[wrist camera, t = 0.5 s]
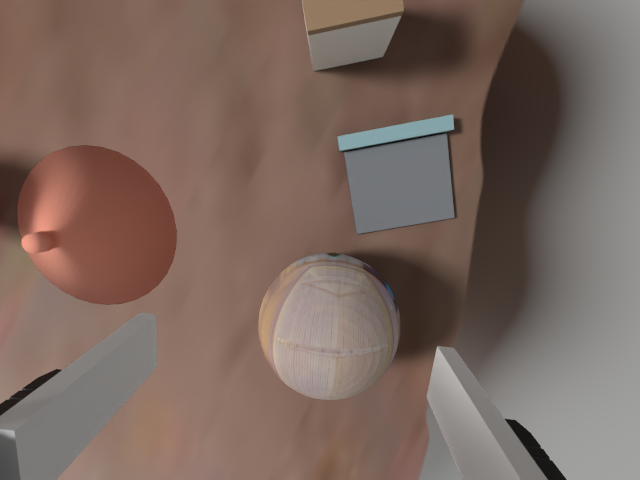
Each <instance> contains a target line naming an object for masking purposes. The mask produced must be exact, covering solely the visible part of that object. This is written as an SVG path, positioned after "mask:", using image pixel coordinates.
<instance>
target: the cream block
mask: <svg viewBox="0 0 640 480" xmlns="http://www.w3.org/2000/svg"><path fill="white" fill-rule="evenodd" d="M302 5H303V11H304V17H305V24H306V30H307V36H308V42H309V48H310V54H311V59H312V65H313V71H317V70H322V69H327V68H332V67H337V66H342V65H346V64H351V63H356V62H361V61H366V60H371V59H376V58H381V57H383V56H384V54H385V52H386V50H387V47H388V45H389V43H390V41H391V38H392V36H393V34H394V32H395V30H396V27H397V25H398V23H399V21H400V18H401V16H402V14H403V12H404V7H403V0H302Z"/></svg>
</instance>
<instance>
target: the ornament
mask: <svg viewBox="0 0 640 480" xmlns="http://www.w3.org/2000/svg"><path fill="white" fill-rule="evenodd" d="M259 337H260V342H261V346H262V350H263V353H264V355H265V357H266V359H267V361H268V363H269V365H270V366H271V368H272V369H273V371H274V372H275V373H276V375H277V376H278V377H279V378H280V379H281V380H282V381H283V382H284V383H286V384H287V385H288V386H290V387H291V388H292V389H294V390H296V391H297V392H299V393H301V394H304V395H306V396H309V397H313V398H317V399H324V400H335V399H343V398H348V397H351V396H354V395H356V394H358V393H361V392H363V391H364V390H366V389H367V388H369V387H370V386H372V385H373V384H374V383H375V382H377V381H378V380H379V379H380V378H381V377H382V376H383V374H384V373H385V372H386V370H387V369H388V367H389V366H390V364H391V362H392V360H393V358H394V356H395V353H396V351H397V347H398V343H399V338H400V315H399V310H398V306H397V303H396V301H395V298H394V295H393V293H392V291H391V289H390V287H389V286H388V285H387V283H386V282H385V281H384V279H383V278H382V277H381V276H380V275H379V274H378V273H377V272H376V271H375V270H374V269H373V268H372V267H370V266H369V265H367V264H366V263H364V262H362V261H360V260H358V259H356V258H354V257H351V256H348V255H344V254H338V253H319V254H314V255H310V256H307V257H304V258H302V259H300V260H298V261H296V262H294V263H292V264H291V265H289V266H288V267H286V268H285V269H284V270H283V271H282V272H281V273H280V274H279V275H278V276H277V277H276V278H275V280H274V281H273V282H272V283H271V285H270V287H269V288H268V290H267V292H266V294H265V297H264V299H263V302H262V305H261V309H260V314H259Z"/></svg>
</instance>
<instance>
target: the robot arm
mask: <svg viewBox="0 0 640 480" xmlns="http://www.w3.org/2000/svg"><path fill="white" fill-rule="evenodd" d="M156 367H157V347H156V314H147V313H139V314H137V315H136V316H135V317H133V318H132V319H131V320H129V321H128V322H127V323H125V324H124V325H123V326H121V327H120V328H119V329H117V330H116V331H114V332H113V333H112V334H110V335H109V336H108V337H106V338H105V339H104V340H102V341H101V342H100V343H98V344H97V345H96V346H94V347H93V348H91V349H90V350H89V351H87V352H86V353H85V354H83V355H82V356H81V357H79V358H78V359H77V360H75V361H74V362H73V363H71V364H70V365H68V366H67V367H66V368H64V369H63V370H59V369H56V370H54V371H52V372H49V373H47V374H45V375H43V376H41V377H38V378H37V379H35V380H34V381H33V382H31V383H30V384H28V385H27V386H25V387H24V388H23V389H22V391H18V392H17V393H16V394H14V395H13V396H11V397H10V399H9V400H6V401H4V402H3V403H1V404H0V480H57V478H58V477H59V476H60V475H61V474H62V473H63V472H64V471H65V469H66V468H67V467H68V466H69V465H70V464H71V463H72V462H73V460H74V459H75V458H76V457H77V456H78V455H79V454H80V453H81V451H82V450H83V449H84V448H85V447H86V446H87V445H88V444H89V442H90V441H91V440H92V439H93V438H94V437H95V436H96V435H97V433H98V432H99V431H100V430H101V429H102V428H103V427H104V426H105V424H106V423H107V422H108V421H109V420H110V419H111V418H112V417H113V415H114V414H115V413H116V412H117V411H118V410H119V409H120V408H121V406H122V405H123V404H124V403H125V402H126V401H127V400H128V399H129V397H130V396H131V395H132V394H133V393H134V392H135V391H136V390H137V388H138V387H139V386H140V385H141V384H142V383H143V382H144V381H145V379H146V378H147V377H148V376H149V375H150V374H151V373H152V372H153V370H154V369H155V368H156ZM427 399H428V402H429V404H430V406H431V409H432V411H433V413H434V415H435V418H436V420H437V422H438V425H439V427H440V429H441V432H442V434H443V436H444V438H445V441H446V443H447V445H448V448H449V450H450V452H451V455H452V457H453V459H454V462H455V464H456V466H457V468H458V471H459V473H460V475H461V477H462V480H566V478H565V477H564V476H563V475H562V473H561V472H560V471H559V469H558V468H557V467H556V465H555V464H554V463H553V462H552V461H551V460H550V459H549V456H548V455H547V454H546V453H545V451H544V450H543V449H541V446H540V445H539V444H538V442H537V441H536V440H535V438H534V437H533V436H532V434H531V433H530V432H529V431H528V430H526V429H525V428H524V427H523V426H522V425H520V424H519V423H518V422H517V421H516V420H510V419H504V418H503V416H502V415H501V413H500V412H499V411H498V409H497V408H496V406H495V405H494V404H493V402H492V401H491V399H490V398H489V397H488V395H487V394H486V392H485V391H484V390H483V388H482V387H481V385H480V384H479V383H478V381H477V380H476V378H475V377H474V376H473V374H472V373H471V371H470V370H469V369H468V367H467V366H466V365H465V363H464V361H463V360H462V359H461V357H460V356H459V354H458V353H457V352H456V350H455V349H454V348H451V347H442V346H437V350H436V355H435V359H434V364H433V369H432V374H431V379H430V383H429V388H428V393H427Z"/></svg>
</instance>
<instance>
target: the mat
mask: <svg viewBox="0 0 640 480" xmlns="http://www.w3.org/2000/svg"><path fill="white" fill-rule="evenodd" d="M344 155H345V162H346V168H347V175H348V181H349V187H350V194H351V200H352V206H353V213H354V219H355V226H356V232H357V234H361V233H367V232H373V231H379V230H385V229H391V228H397V227H403V226H409V225H415V224H421V223H426V222H432V221H438V220H444V219H450V218H455V217H454V206H453V195H452V185H451V174H450V163H449V152H448V141H447V133H445V134H440V135H435V136H429V137H424V138H418V139H413V140H408V141H402V142H397V143H392V144H386V145H381V146H375V147H370V148H365V149H359V150H354V151H349V152H344Z"/></svg>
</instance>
